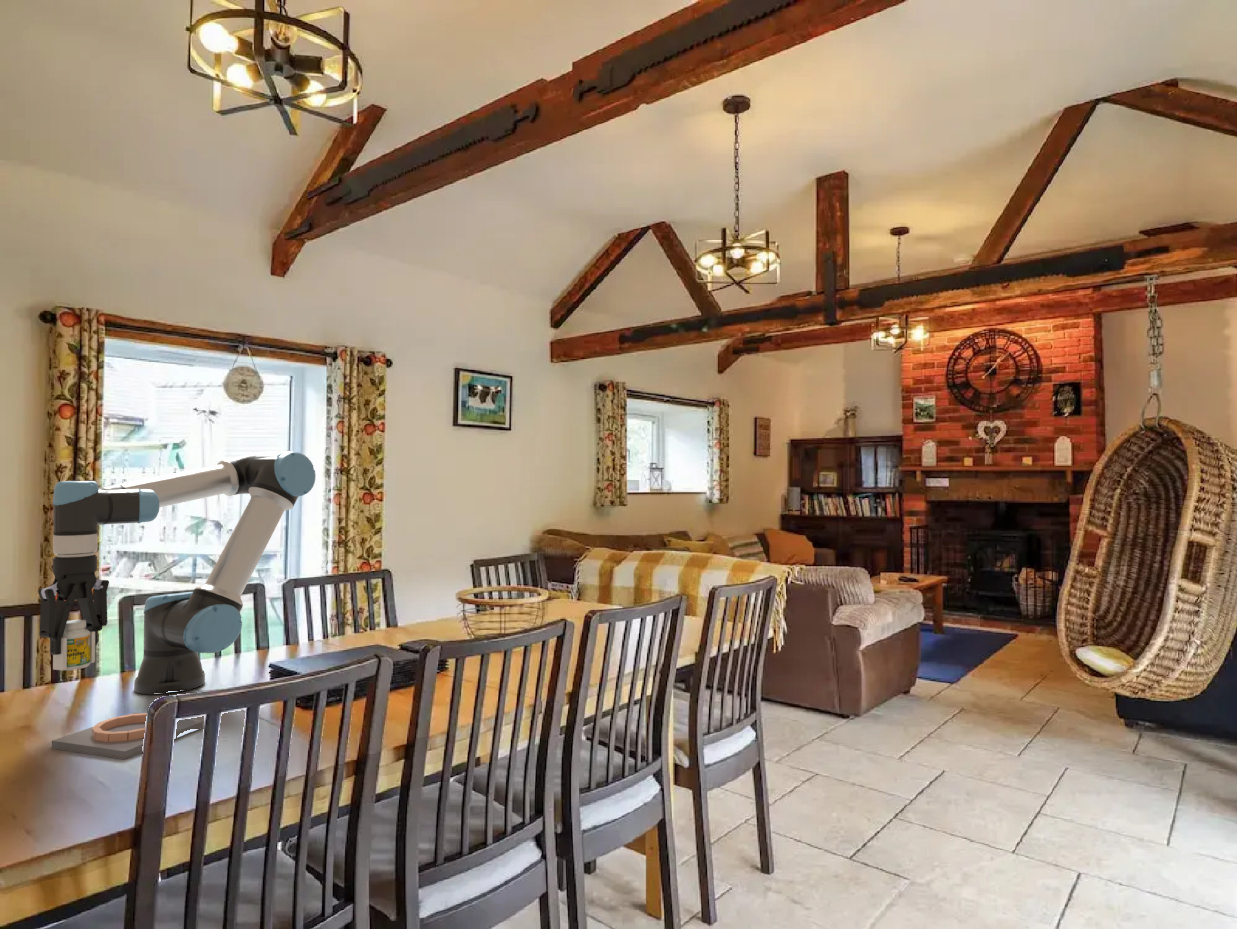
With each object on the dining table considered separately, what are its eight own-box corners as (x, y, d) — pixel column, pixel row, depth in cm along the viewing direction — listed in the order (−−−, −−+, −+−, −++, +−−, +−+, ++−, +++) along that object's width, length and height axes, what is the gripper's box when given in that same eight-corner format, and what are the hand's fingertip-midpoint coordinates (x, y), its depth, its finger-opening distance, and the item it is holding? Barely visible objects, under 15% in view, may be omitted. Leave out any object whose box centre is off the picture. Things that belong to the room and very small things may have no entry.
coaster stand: (135, 719, 161) (135, 705, 161) (202, 728, 156) (203, 713, 156) (51, 748, 144) (52, 732, 144) (124, 759, 139) (125, 743, 139)
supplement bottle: (90, 662, 160) (90, 617, 160) (89, 668, 155) (89, 622, 155) (59, 666, 157) (59, 620, 157) (57, 672, 152) (57, 625, 152)
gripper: (102, 549, 166) (101, 653, 166) (15, 559, 148) (14, 676, 148) (129, 550, 164) (128, 656, 164) (44, 560, 146) (43, 679, 146)
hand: (74, 665), depth 156 cm, fingers closed on supplement bottle, 5 cm apart
